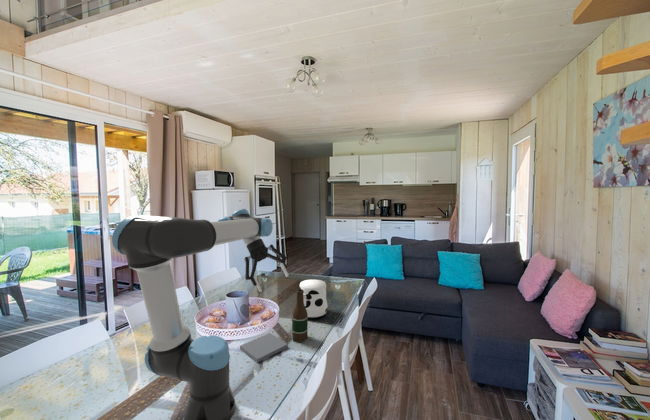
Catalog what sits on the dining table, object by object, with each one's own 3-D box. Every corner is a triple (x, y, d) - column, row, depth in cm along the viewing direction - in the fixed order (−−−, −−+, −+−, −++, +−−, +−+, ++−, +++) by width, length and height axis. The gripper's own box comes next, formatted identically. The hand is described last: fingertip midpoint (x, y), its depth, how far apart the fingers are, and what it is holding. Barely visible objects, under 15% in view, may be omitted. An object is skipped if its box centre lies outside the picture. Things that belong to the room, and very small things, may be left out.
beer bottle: (305, 343, 130) (305, 293, 128) (289, 341, 132) (289, 292, 130) (309, 335, 138) (310, 287, 136) (294, 333, 139) (294, 286, 138)
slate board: (257, 362, 115) (257, 359, 115) (239, 349, 125) (239, 345, 125) (287, 347, 127) (287, 344, 127) (269, 336, 137) (269, 332, 136)
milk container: (328, 308, 169) (329, 279, 168) (325, 321, 152) (326, 289, 151) (300, 306, 171) (300, 278, 170) (294, 319, 154) (295, 288, 153)
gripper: (275, 232, 136) (295, 271, 134) (226, 255, 124) (247, 298, 122) (279, 228, 129) (300, 269, 127) (228, 252, 117) (250, 298, 115)
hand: (274, 283), depth 125 cm, fingers open, 13 cm apart
